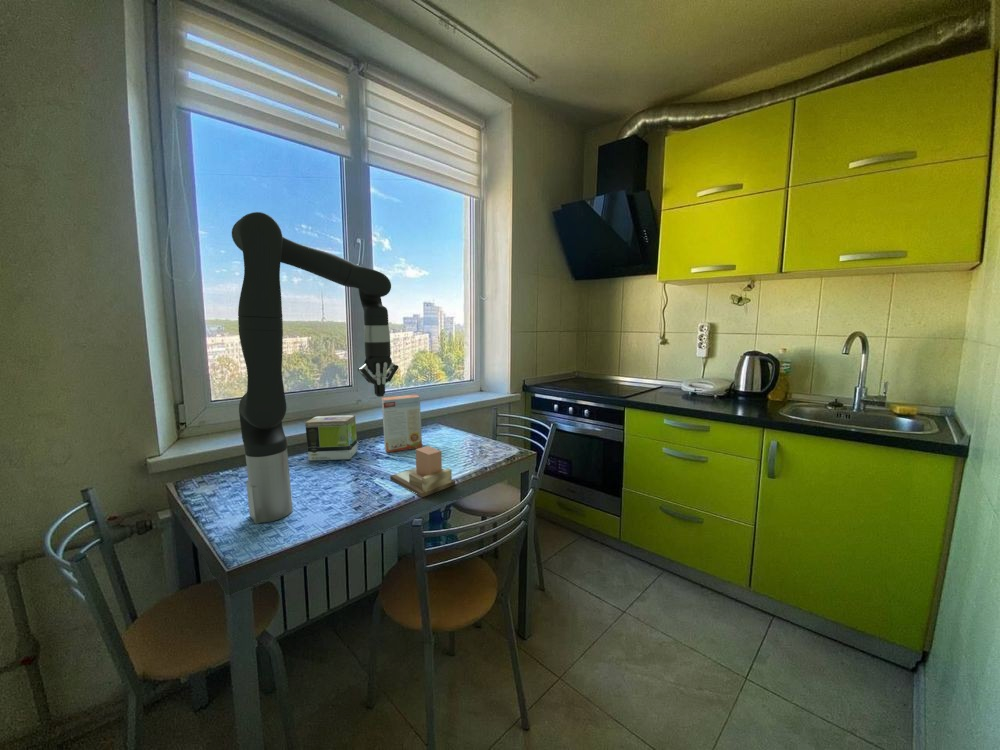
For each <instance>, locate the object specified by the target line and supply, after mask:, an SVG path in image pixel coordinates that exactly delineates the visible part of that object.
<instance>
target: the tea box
mask: <svg viewBox="0 0 1000 750" xmlns="http://www.w3.org/2000/svg"><path fill="white" fill-rule="evenodd" d="M304 424H305V425H304V426H305V435H306V447H307V448H306V449H307V456H308V461H334V460H335V461H336V460H339V461H340V460H350V459H352V458H353V456H354V455H355V454H357V452H358V437H357V425H356V414H347V415H346V414H345V415H344V414H343V415H341V414H339V415H319V416H318V415H317V416H314V417H312V418H311V419H309V420H307V421H305V422H304Z"/></svg>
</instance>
